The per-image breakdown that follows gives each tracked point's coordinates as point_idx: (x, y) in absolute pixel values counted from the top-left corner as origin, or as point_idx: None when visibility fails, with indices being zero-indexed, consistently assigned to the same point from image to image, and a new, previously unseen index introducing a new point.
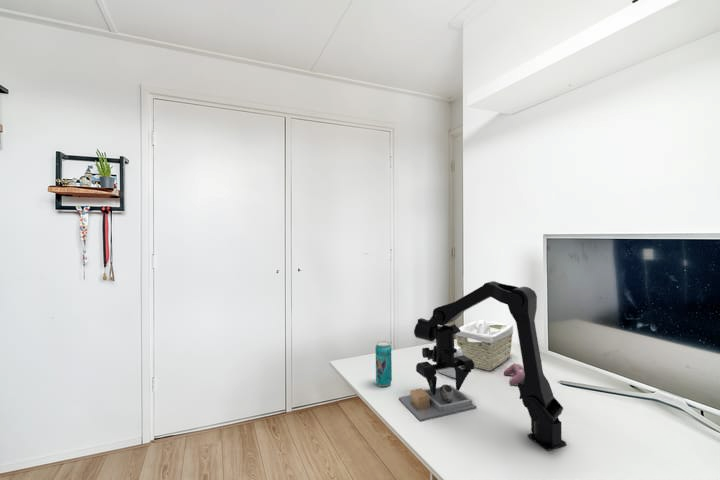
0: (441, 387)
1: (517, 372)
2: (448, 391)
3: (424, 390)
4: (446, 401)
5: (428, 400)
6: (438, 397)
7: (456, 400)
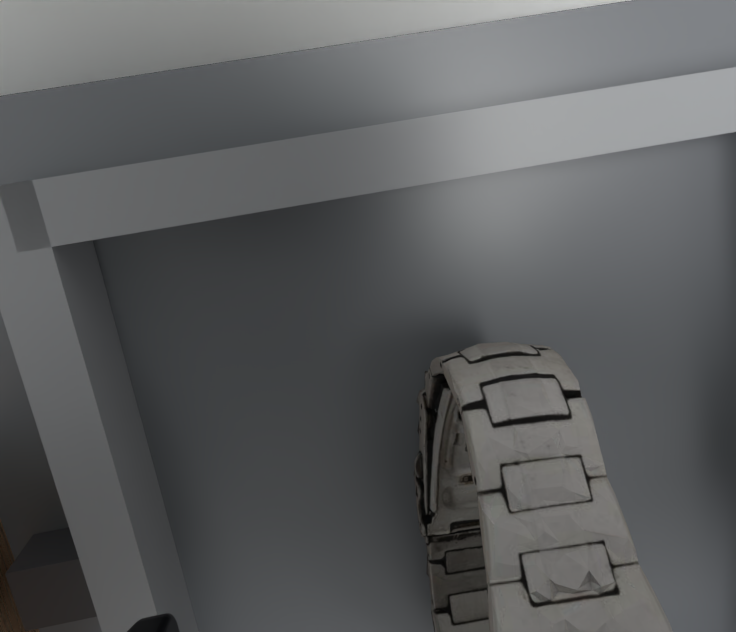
0: (488, 511)
1: None
2: None
3: (72, 206)
4: (444, 558)
5: None
6: (372, 368)
7: (638, 526)
